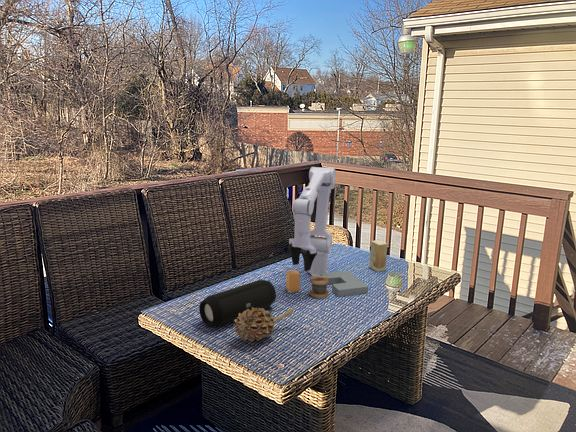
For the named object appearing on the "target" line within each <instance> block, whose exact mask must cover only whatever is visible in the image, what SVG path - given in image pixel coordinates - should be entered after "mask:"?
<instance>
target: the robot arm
mask: <svg viewBox="0 0 576 432" xmlns="http://www.w3.org/2000/svg"><path fill="white" fill-rule="evenodd" d="M336 178H337V172H336V169H335V168H334V167H320V166H319V167H318V166H317V167H316V166H311V168H310V169H309V171H308V179H309V182H308V183H309V184H308V185H307V186H305V187H304V188H303V190H302V191H301V193H300V195H299V197H298V198H296V199H294V201H293V202H292V209H291V210H292V213H293V216H292V217H293V219H294V235H293V236H294V238H293V237H292V238H289V239H288V244H289V245H287V250H288V252H289V254H290V258H291V261H292V265H293V266H296V265H299V264H300V259H301V258H300V256H302V258H303V269H304V271H305V272H307V273H308V274H310V276H311V277H313V276H320V273H329V272H330V271H329V270H328V261H329V260H328V259H329V256H328V254H329V253H331V251H332V248H333V235H332V233H331V232H330V231H329V230H327V223H328V214H329V213H328V212H329V206H330V205H329V202H330V194H331V190H333V189H335V186H336V180H337V179H336ZM315 202H316V211H315V212H316V213H315V222H314V228H313V229H311V222H312V221H311V218H312V214H313V212H314V207H315ZM302 250H304V251H303V252H302Z"/></svg>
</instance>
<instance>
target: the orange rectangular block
mask: <svg viewBox="0 0 576 432" xmlns="http://www.w3.org/2000/svg"><path fill="white" fill-rule="evenodd" d="M285 273H286V275H285V276H286V278H285V283H286V284H285V289H286V290H287V291H288V292H289V293H294V292H300V291H301V290H300V284H301V283H300V281H301V280H300V279H301V278H300V277H301V276H300V275H301V273H300V272H299V271H298V270H296V269H293V270H286V272H285Z"/></svg>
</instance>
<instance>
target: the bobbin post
mask: <svg viewBox="0 0 576 432" xmlns="http://www.w3.org/2000/svg"><path fill="white" fill-rule="evenodd" d="M309 283H310V284H311V289H310V290H309V296H310V297H312V298H315V299H316V298H317V299H326V298H327V297H329V295H330V292H329V289H328V285H329V284H328V283H329V278H328V277H325V276H311V277H310V278H309Z"/></svg>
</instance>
